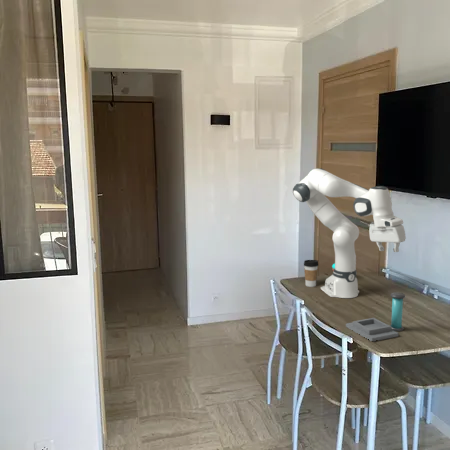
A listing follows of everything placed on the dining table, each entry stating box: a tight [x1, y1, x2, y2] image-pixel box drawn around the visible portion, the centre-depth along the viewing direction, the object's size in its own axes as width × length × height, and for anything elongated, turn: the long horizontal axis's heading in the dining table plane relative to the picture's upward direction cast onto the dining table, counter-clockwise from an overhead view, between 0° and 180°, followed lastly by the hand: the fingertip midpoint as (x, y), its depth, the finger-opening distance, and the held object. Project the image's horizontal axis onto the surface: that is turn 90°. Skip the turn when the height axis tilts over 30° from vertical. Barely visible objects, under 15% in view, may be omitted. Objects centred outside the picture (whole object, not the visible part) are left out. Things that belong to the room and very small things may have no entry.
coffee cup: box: [303, 259, 319, 288], centre depth 274 cm, size 8×8×15 cm
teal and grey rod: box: [388, 291, 406, 333], centre depth 208 cm, size 6×6×16 cm
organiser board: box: [345, 317, 399, 342], centre depth 207 cm, size 18×14×4 cm
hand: (389, 251), depth 213 cm, fingers open, 8 cm apart
